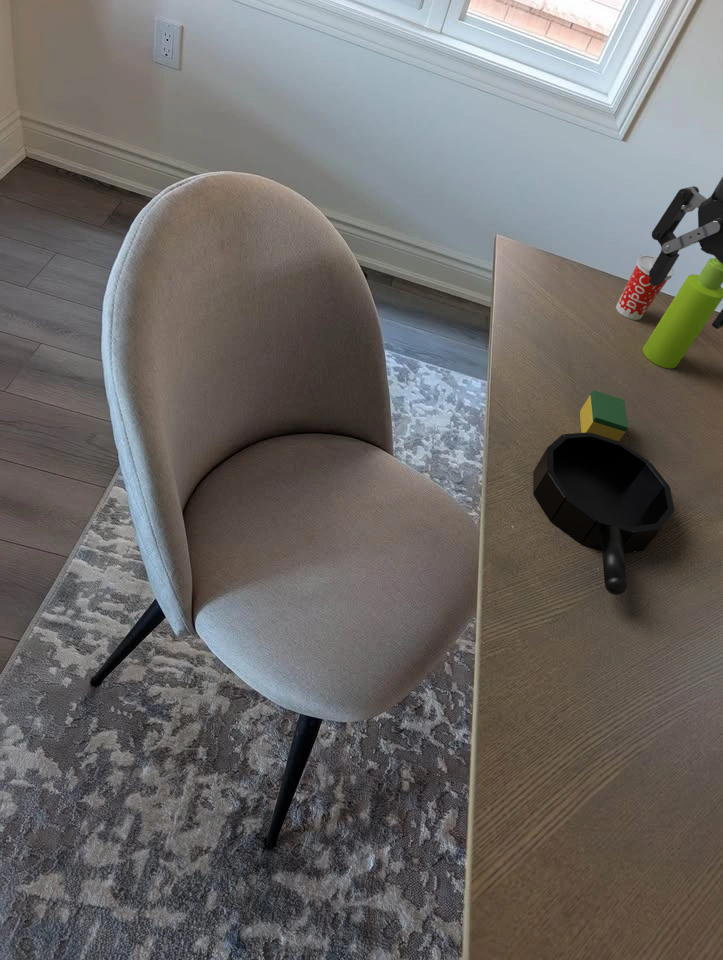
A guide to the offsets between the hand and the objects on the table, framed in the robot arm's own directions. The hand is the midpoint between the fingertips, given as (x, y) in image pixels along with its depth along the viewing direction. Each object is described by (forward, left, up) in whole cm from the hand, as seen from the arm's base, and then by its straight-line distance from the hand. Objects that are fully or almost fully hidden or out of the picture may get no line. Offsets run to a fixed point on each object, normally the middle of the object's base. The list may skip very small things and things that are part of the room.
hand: (685, 304), depth 84 cm
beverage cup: (-34, -20, -22) cm, 45 cm away
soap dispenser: (-28, -9, -22) cm, 37 cm away
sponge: (-2, -2, -22) cm, 22 cm away
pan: (+12, +10, -22) cm, 27 cm away
